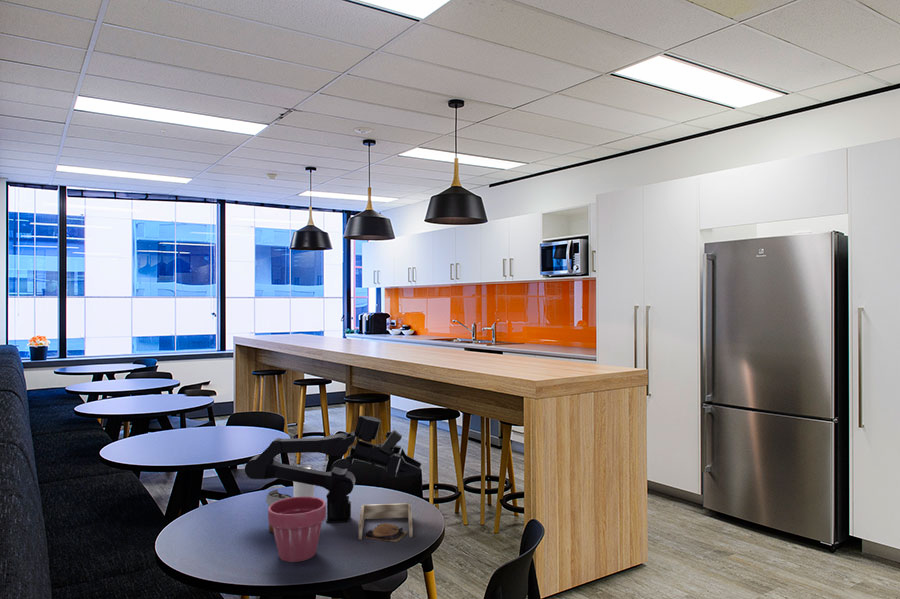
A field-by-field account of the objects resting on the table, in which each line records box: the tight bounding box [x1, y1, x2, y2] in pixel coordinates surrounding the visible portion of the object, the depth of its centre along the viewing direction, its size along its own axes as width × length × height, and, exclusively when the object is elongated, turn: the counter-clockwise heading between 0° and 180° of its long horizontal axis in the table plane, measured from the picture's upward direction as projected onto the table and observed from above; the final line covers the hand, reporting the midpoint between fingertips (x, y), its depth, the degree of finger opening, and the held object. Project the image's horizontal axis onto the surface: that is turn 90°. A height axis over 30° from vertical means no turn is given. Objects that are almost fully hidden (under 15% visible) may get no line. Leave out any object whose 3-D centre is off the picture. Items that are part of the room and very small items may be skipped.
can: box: [293, 465, 315, 497], centre depth 195 cm, size 6×6×12 cm
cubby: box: [358, 502, 413, 540], centre depth 175 cm, size 15×17×4 cm
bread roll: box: [363, 522, 409, 542], centre depth 169 cm, size 11×8×4 cm
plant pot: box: [267, 496, 327, 563], centre depth 156 cm, size 14×14×13 cm
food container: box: [265, 489, 292, 534], centre depth 173 cm, size 12×6×10 cm, turn 48°
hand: (421, 468), depth 184 cm, fingers open, 9 cm apart
